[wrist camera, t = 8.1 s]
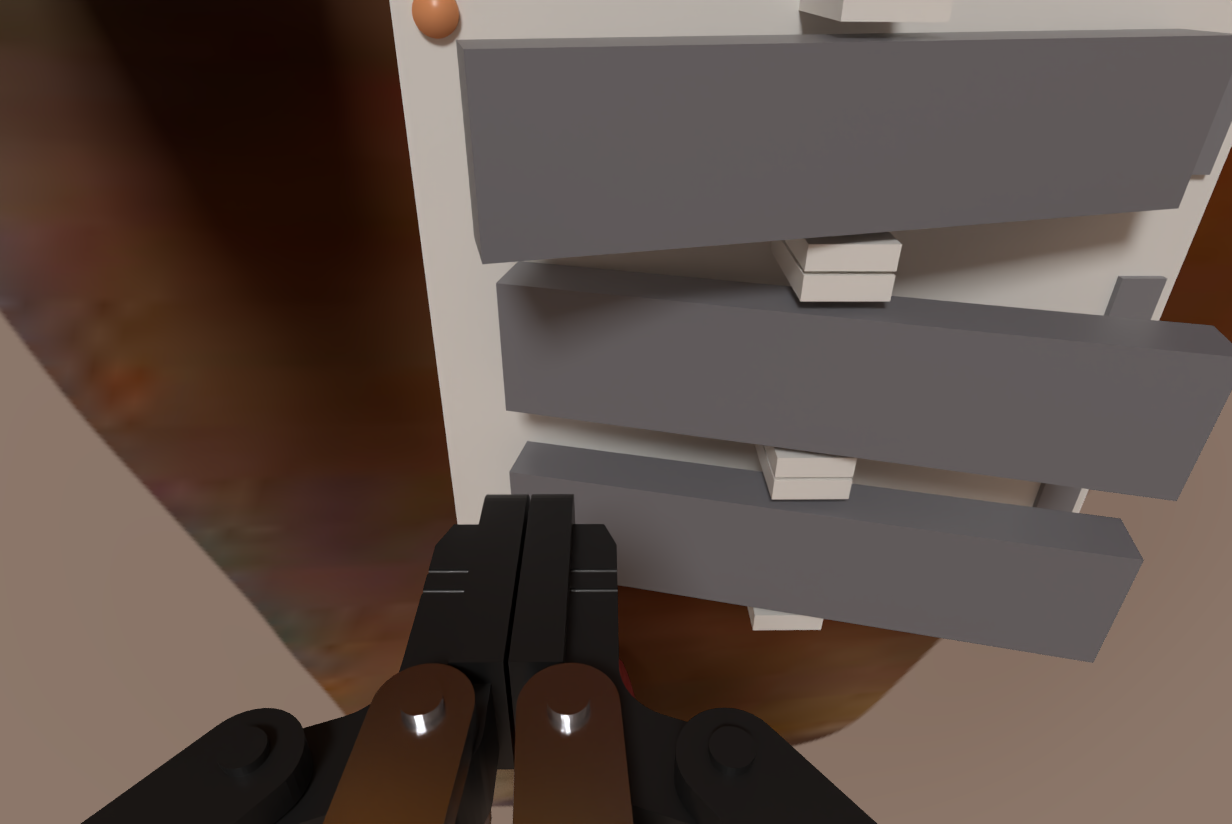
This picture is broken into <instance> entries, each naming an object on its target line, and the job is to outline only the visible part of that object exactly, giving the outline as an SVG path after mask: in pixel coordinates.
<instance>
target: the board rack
mask: <svg viewBox="0 0 1232 824" xmlns="http://www.w3.org/2000/svg"><path fill="white" fill-rule="evenodd" d="M389 1H390V8H391V16H392V24H393V31H394V39H395V47H396V54H397V62H398V70H399V77H400V85H401V93H402V100H403V108H404V116H405V123H406V131H407V139H408V147H409V154H410V162H411V170H412V177H413V185H414V193H415V200H416V208H417V216H418V223H419V231H420V239H421V246H422V254H423V262H424V269H425V277H426V285H427V292H428V300H429V308H430V316H431V323H432V331H433V339H434V346H435V354H436V362H437V369H438V377H439V385H440V392H441V400H442V408H443V415H444V423H445V431H446V438H447V446H448V454H449V461H450V469H451V477H452V485H453V492H454V500H455V508H456V515H457V523H458V524H479V521H480V516H481V512H482V507H483V503H484V498H485V496H486V495H487V494H511V488H510V475H509V471H510V470H511V468H512V466H513V465H514V463H515V461H516V459H517V458H518V456H519V454H520V453H521V451H522V449H523V447H524V446H525V444H526V442H527V441H531V442H539V443H547V444H554V445H562V446H569V447H577V448H585V449H592V450H600V451H608V452H615V453H623V454H631V455H638V456H646V457H654V458H661V459H669V460H676V461H684V462H692V463H699V464H707V465H715V466H722V467H730V468H738V469H745V470H753V471H760V472H763V474H764V477H765V480H766V483H767V486H768V489H769V493H770V496H771V499H849V494H850V489H851V485H852V484H860V485H867V486H875V487H883V488H890V489H898V490H906V491H913V492H921V493H929V494H936V495H944V496H951V497H959V498H967V499H974V500H982V501H990V502H997V503H1005V504H1013V505H1020V506H1028V507H1035V508H1043V509H1051V510H1058V511H1066V512H1074V513H1079V511H1080V509H1081V507H1082V504H1083V502H1084V500H1085V497H1086V495H1087V492H1088V490H1089V489H1084V488H1076V487H1069V486H1061V485H1054V484H1047V483H1039V482H1032V481H1024V480H1017V479H1010V478H1002V477H995V476H987V475H980V474H972V473H965V472H958V471H950V470H943V469H935V468H928V467H921V466H913V465H906V464H898V463H891V462H884V461H876V460H869V459H861V458H854V457H847V456H839V455H832V454H824V453H817V452H810V451H802V450H795V449H787V448H780V447H773V446H765V445H758V444H750V443H743V442H735V441H728V440H721V439H713V438H706V437H698V436H691V435H684V434H676V433H669V432H661V431H654V430H647V429H639V428H632V427H624V426H617V425H610V424H602V423H595V422H587V421H580V420H573V419H565V418H558V417H550V416H543V415H536V414H528V413H521V412H513V411H506V405H505V392H504V379H503V367H502V354H501V342H500V329H499V316H498V304H497V291H496V283H497V282H498V281H499V280H500V279H501V278H502V277H503V276H504V275H505V274H506V273H507V272H508V271H509V270H510V269H511V268H512V267H513V266H514V265H515V264H516V263H517V262H518V261H517V262H505V263H493V264H482V262H481V258H480V255H479V252H478V249H477V245H476V242H475V239H474V231H473V220H472V209H471V198H470V188H469V177H468V166H467V155H466V144H465V133H464V123H463V112H462V101H461V90H460V79H459V68H458V58H457V47H456V40H474V39H538V38H603V37H668V36H733V35H798V34H863V33H928V32H993V31H1058V30H1122V29H1189V30H1200V31H1210V32H1221V33H1232V0H389ZM1231 146H1232V75H1231V77H1230V80H1229V82H1228V85H1227V87H1226V90H1225V92H1224V95H1223V97H1222V100H1221V102H1220V105H1219V107H1218V110H1217V112H1216V115H1215V117H1214V120H1213V123H1212V125H1211V128H1210V130H1209V133H1208V135H1207V138H1206V140H1205V143H1204V145H1203V148H1202V150H1201V153H1200V155H1199V158H1198V160H1197V163H1196V165H1195V168H1194V170H1193V173H1192V175H1191V178H1190V181H1189V183H1188V186H1187V188H1186V191H1185V193H1184V196H1183V198H1182V201H1181V203H1180V206H1179V208H1177V209H1165V210H1152V211H1140V212H1127V213H1115V214H1102V215H1090V216H1078V217H1065V218H1053V219H1040V220H1028V221H1015V222H1003V223H990V224H978V225H966V226H953V227H941V228H928V229H916V230H903V231H891V232H878V233H866V234H854V235H841V236H829V237H816V238H804V239H791V240H779V241H766V242H754V243H742V244H729V245H717V246H704V247H692V248H679V249H667V250H654V251H642V252H629V253H617V254H605V255H592V256H580V257H567V258H555V259H542V260H530V261H524V262H535V263H545V264H556V265H567V266H577V267H588V268H599V269H610V270H620V271H631V272H642V273H652V274H663V275H674V276H685V277H695V278H706V279H717V280H727V281H738V282H749V283H760V284H770V285H781V286H792V288H793V290H794V292H795V293H796V295H797V297H798V298H799V300H800V301H890V300H891V296H899V297H910V298H920V299H931V300H942V301H952V302H963V303H974V304H985V305H995V306H1006V307H1017V308H1027V309H1038V310H1049V311H1060V312H1070V313H1081V314H1092V315H1102V316H1113V317H1124V318H1135V319H1145V320H1156V321H1159V319H1160V317H1161V314H1162V312H1163V309H1164V307H1165V305H1166V302H1167V300H1168V297H1169V295H1170V292H1171V290H1172V288H1173V285H1174V283H1175V280H1176V278H1177V276H1178V273H1179V271H1180V268H1181V266H1182V264H1183V261H1184V259H1185V256H1186V254H1187V252H1188V249H1189V247H1190V244H1191V242H1192V240H1193V237H1194V235H1195V232H1196V230H1197V227H1198V225H1199V223H1200V220H1201V218H1202V215H1203V213H1204V211H1205V208H1206V206H1207V203H1208V201H1209V199H1210V196H1211V194H1212V191H1213V189H1214V187H1215V184H1216V182H1217V179H1218V177H1219V174H1220V172H1221V170H1222V167H1223V165H1224V162H1225V160H1226V158H1227V155H1228V153H1229V150H1230V148H1231ZM747 607H748V611H749V616H750V620H751V625H752V629H753V630H821V627H822V622H823V618H816V617H810V616H804V615H798V614H792V613H786V612H780V611H774V610H767V609H761V608H755V607H749V606H747Z"/></svg>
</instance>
